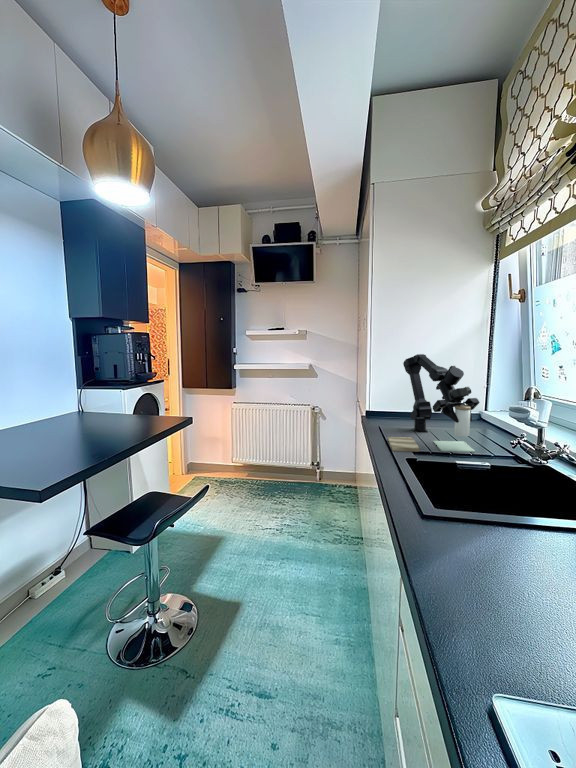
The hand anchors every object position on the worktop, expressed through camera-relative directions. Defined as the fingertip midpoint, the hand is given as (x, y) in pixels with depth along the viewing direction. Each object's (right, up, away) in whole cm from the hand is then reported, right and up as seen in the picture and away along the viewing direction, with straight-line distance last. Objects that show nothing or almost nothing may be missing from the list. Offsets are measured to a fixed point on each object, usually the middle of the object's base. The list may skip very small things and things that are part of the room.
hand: (464, 421), depth 134 cm
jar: (0, -6, +2) cm, 6 cm away
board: (-22, -12, +11) cm, 27 cm away
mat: (-1, -12, +7) cm, 14 cm away
